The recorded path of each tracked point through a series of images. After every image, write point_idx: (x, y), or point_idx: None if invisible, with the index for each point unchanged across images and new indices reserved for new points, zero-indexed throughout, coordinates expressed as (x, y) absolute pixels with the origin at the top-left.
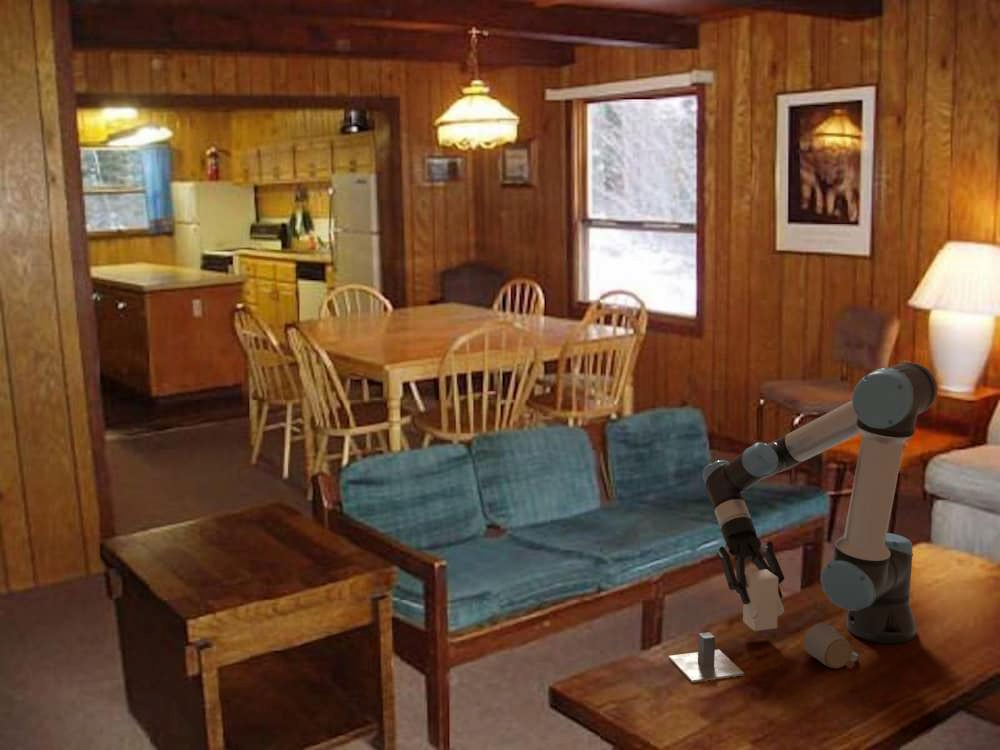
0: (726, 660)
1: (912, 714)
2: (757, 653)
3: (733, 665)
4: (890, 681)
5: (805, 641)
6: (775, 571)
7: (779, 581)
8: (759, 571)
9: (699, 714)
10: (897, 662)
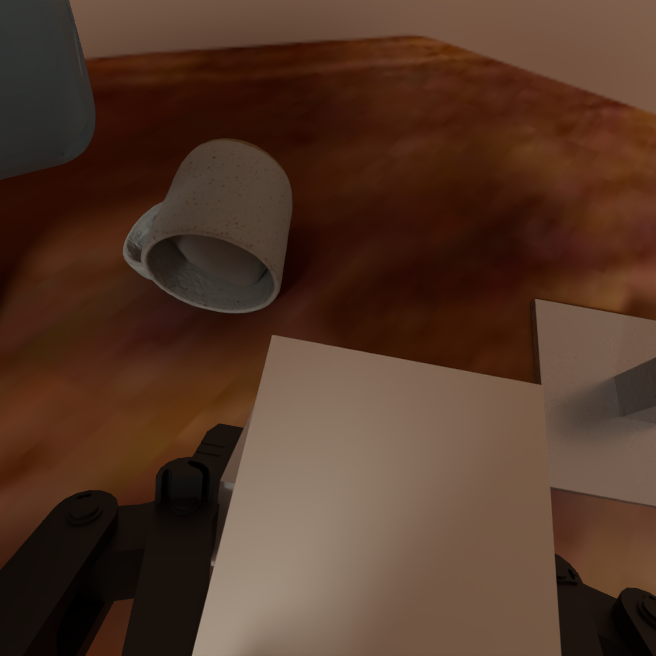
0: (556, 394)
1: (266, 45)
2: None
3: (547, 353)
4: (178, 130)
5: (281, 273)
6: (53, 637)
7: (133, 512)
8: (342, 635)
9: None
10: (54, 181)
